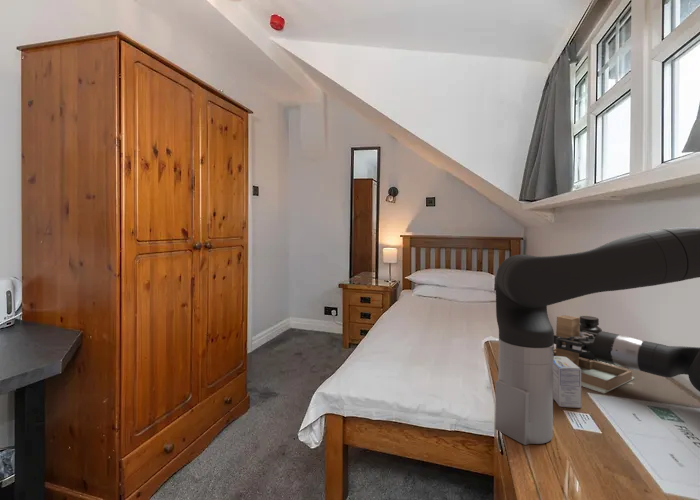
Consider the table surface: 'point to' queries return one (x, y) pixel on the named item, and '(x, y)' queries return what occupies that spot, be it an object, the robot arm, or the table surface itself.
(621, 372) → the keyhole board
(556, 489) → the table surface
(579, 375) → the medicine box
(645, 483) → the table surface
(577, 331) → the walnut keyhole peg
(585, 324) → the supplement bottle
